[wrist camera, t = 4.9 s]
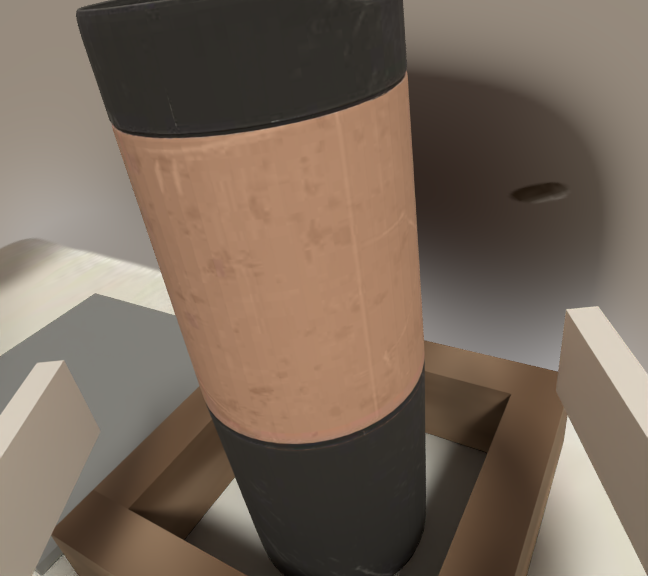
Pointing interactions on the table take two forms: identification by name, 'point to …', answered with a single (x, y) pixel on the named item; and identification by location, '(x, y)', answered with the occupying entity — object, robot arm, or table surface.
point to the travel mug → (286, 252)
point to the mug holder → (440, 420)
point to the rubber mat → (108, 380)
